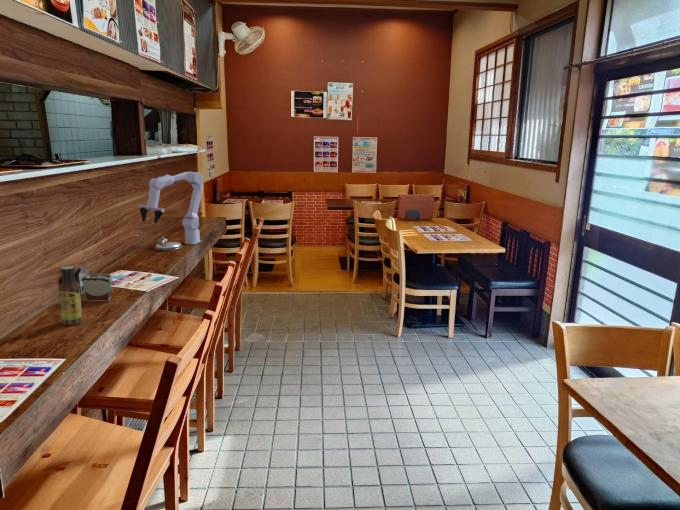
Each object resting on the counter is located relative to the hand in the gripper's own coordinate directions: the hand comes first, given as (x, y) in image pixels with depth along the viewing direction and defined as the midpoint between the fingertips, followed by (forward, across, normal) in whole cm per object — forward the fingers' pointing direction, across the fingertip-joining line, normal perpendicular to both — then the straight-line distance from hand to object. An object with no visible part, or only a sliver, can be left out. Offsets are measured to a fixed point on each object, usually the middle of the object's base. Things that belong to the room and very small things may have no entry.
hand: (149, 222), depth 275 cm
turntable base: (+13, +10, +9) cm, 19 cm away
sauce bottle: (+36, +40, -106) cm, 119 cm away
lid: (+12, +6, +8) cm, 16 cm away
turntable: (+12, +10, +9) cm, 18 cm away
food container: (+32, +33, -81) cm, 93 cm away
